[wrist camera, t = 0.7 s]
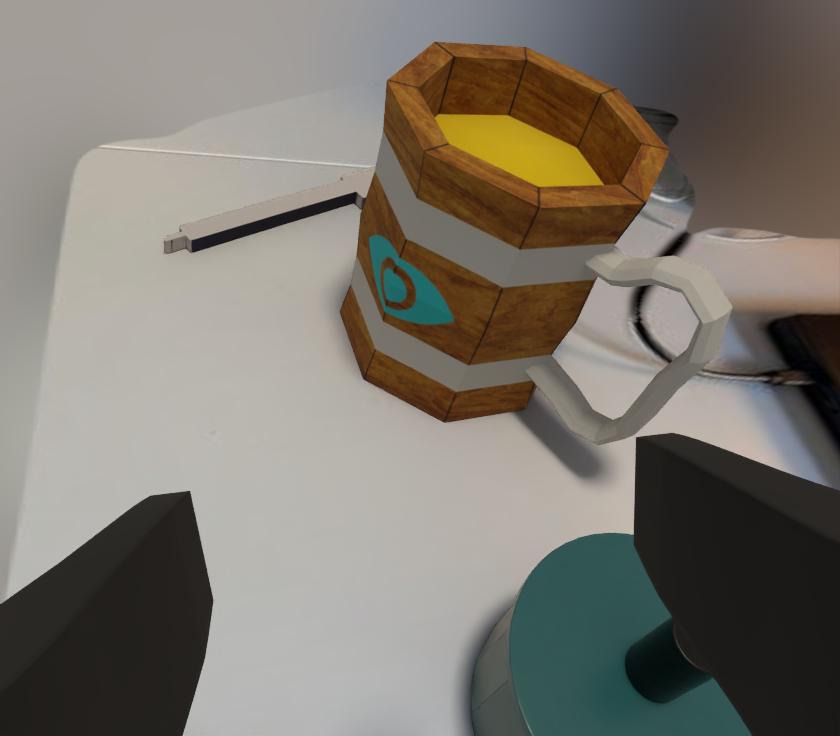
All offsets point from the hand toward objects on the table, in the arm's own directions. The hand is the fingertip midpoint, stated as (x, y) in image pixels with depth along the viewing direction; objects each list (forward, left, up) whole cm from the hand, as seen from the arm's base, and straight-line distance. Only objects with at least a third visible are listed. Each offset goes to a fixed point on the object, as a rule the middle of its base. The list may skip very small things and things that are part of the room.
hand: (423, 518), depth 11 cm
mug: (+19, -14, -21) cm, 31 cm away
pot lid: (-1, -12, -15) cm, 19 cm away
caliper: (+31, -6, -20) cm, 37 cm away
